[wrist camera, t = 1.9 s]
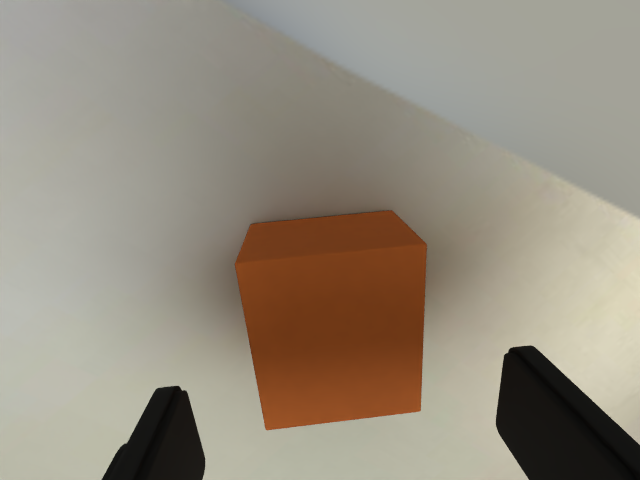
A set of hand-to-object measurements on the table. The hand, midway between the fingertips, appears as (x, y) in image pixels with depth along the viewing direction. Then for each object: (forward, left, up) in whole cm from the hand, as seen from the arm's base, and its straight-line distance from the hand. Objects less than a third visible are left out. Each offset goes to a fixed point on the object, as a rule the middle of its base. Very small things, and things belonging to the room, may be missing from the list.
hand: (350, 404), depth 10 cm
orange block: (-1, 0, -6) cm, 6 cm away
